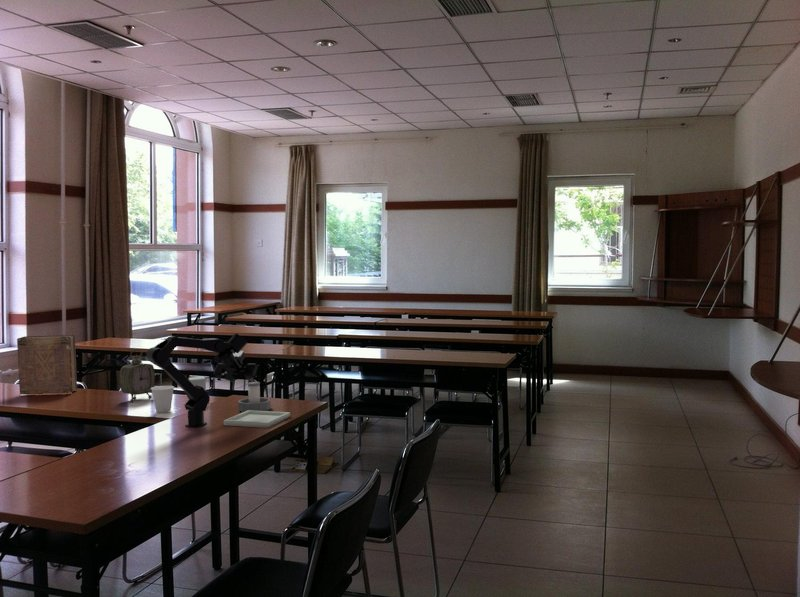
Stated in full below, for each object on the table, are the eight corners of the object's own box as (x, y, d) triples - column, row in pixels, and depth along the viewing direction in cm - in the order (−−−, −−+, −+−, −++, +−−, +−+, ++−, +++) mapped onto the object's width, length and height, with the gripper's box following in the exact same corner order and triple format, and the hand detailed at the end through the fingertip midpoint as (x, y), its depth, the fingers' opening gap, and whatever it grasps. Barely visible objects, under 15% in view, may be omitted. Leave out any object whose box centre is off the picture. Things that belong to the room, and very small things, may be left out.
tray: (267, 427, 280) (267, 422, 279) (223, 425, 285) (223, 420, 285) (290, 417, 299) (290, 412, 299) (248, 414, 305) (248, 410, 304)
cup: (167, 414, 308) (166, 389, 307) (147, 413, 310) (146, 389, 309) (179, 409, 318) (178, 385, 317) (159, 409, 320) (158, 385, 319)
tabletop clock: (131, 403, 334) (129, 351, 333) (118, 401, 339) (116, 350, 337) (155, 398, 347) (153, 348, 345) (143, 396, 351) (141, 347, 350)
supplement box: (205, 402, 334) (204, 376, 333) (206, 405, 327) (205, 378, 326) (189, 403, 331) (188, 377, 331) (190, 406, 324) (189, 379, 324)
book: (77, 391, 370) (75, 334, 369) (72, 394, 361) (70, 336, 360) (25, 393, 366) (23, 336, 364) (19, 396, 357) (17, 338, 355)
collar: (261, 413, 307) (260, 404, 307) (232, 411, 311) (232, 402, 311) (275, 406, 321) (275, 398, 320) (248, 405, 325) (248, 397, 324)
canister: (256, 410, 313) (256, 384, 312) (246, 410, 314) (245, 383, 314) (262, 408, 318) (261, 382, 317) (252, 407, 319) (251, 381, 319)
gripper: (254, 345, 298) (267, 366, 310) (215, 345, 304) (230, 366, 315) (246, 366, 291) (260, 387, 303) (206, 366, 297) (222, 386, 308)
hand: (243, 381), depth 307 cm, fingers open, 9 cm apart
